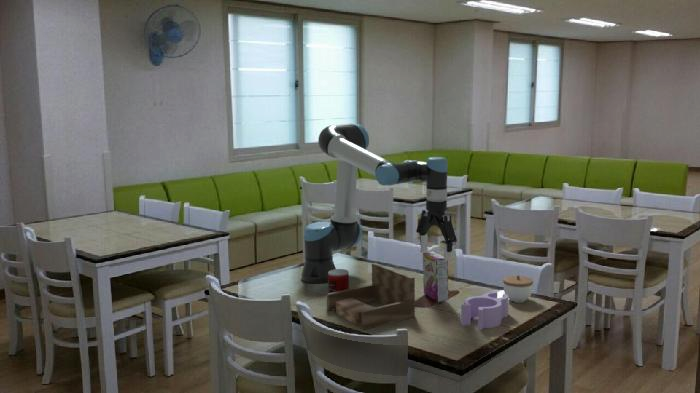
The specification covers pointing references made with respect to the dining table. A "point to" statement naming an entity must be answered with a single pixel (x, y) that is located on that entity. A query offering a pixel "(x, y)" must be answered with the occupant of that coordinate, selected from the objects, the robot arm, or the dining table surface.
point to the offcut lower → (349, 317)
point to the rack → (381, 297)
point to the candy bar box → (435, 276)
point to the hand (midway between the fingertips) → (435, 256)
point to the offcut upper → (352, 307)
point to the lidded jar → (518, 288)
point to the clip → (485, 310)
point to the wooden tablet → (431, 300)
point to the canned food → (338, 280)
